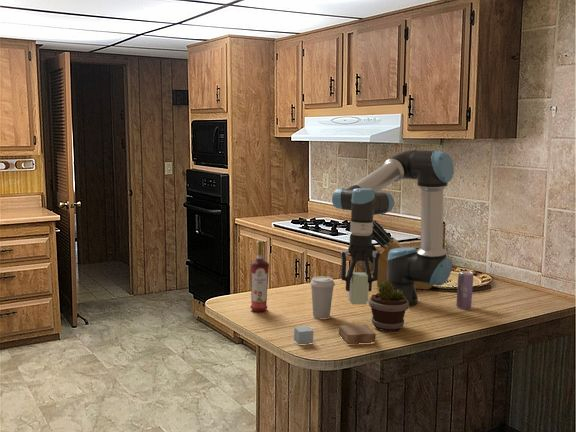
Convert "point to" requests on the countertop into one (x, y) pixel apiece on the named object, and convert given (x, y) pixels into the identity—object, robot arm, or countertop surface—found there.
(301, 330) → the blue-grey cube
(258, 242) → the liquor
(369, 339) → the walnut block
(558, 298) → the countertop surface
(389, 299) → the flowerpot
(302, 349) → the countertop surface
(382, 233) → the knife block
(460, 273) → the beverage can
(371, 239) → the robot arm
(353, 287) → the sage block
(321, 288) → the coffee cup
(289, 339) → the countertop surface
